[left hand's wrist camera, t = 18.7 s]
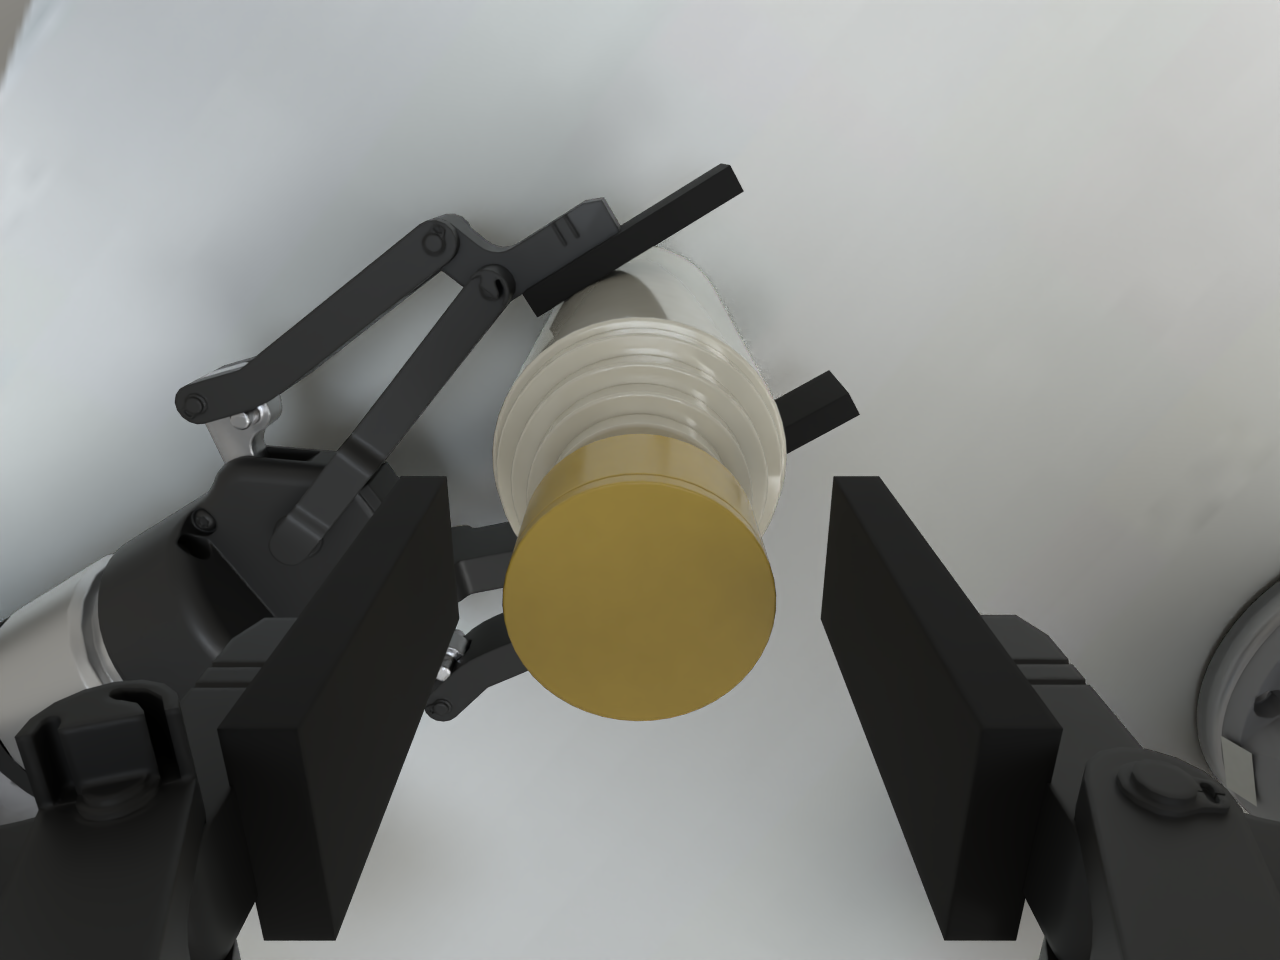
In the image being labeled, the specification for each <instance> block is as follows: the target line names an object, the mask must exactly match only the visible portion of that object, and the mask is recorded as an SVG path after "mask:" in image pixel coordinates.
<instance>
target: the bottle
mask: <svg viewBox="0 0 1280 960" xmlns="http://www.w3.org/2000/svg"><path fill="white" fill-rule="evenodd" d="M624 434H653V435H661V436H666V437H670V438H675V439H678V440H681V441H683V442H686V443H689V444H691V445H693V446H695V447H697V448H699V449H701V450H703V451H705V452H706V453H708V454H709V455H711V456H712V457H714V458H715V459H717V460H718V461H719V462H720V463H721V464H722V465H723V466H725V467H726V468H727V469H728V470H729V471H730V472H731V474H732V475H733V476H734V477H735V478H736V479H737V481H738V482H739V484H740V485H741V487H742V488H743V490H744V491H745V493H746V495H747V497H748V499H749V502H750V504H751V506H752V509H753V512H754V515H755V518H756V522H757V525H758V528H759V531H760V534H761V538H762V536H763V535H764V533H765V531H766V529H767V527H768V525H769V524H770V522H771V520H772V517H773V514H774V512H775V509H776V507H777V503H778V500H779V497H780V495H781V491H782V487H783V483H784V479H785V471H786V461H787V453H786V438H785V433H784V427H783V422H782V419H781V416H780V413H779V410H778V407H777V404H776V402H775V401H774V399H773V397H772V395H771V393H770V391H769V389H768V387H767V385H766V383H765V381H764V379H763V377H762V376H761V374H760V372H759V370H758V368H757V366H756V364H755V362H754V361H753V359H752V357H751V355H750V353H749V351H748V349H747V348H746V346H745V344H744V342H743V340H742V338H741V336H740V334H739V333H738V331H737V329H736V327H735V325H734V323H733V321H732V320H731V318H730V316H729V314H728V312H727V310H726V308H725V307H724V305H723V303H722V301H721V299H720V297H719V295H718V293H717V292H716V290H715V288H714V286H713V285H712V283H711V282H710V281H709V279H708V278H707V277H706V276H705V274H704V273H703V272H702V271H701V270H700V269H699V268H698V267H696V266H695V265H694V264H693V263H692V262H690V261H689V260H687V259H686V258H684V257H682V256H681V255H678V254H676V253H674V252H672V251H669V250H666V249H663V248H659V247H652V248H650V249H648V250H647V251H645V252H644V253H642V254H640V255H639V256H637V257H635V258H634V259H632V260H630V261H629V262H627V263H626V264H624V265H622V266H621V267H619V268H617V269H616V270H614V271H612V272H611V273H609V274H608V275H606V276H604V277H603V278H601V279H599V280H598V281H596V282H594V283H593V284H591V285H590V286H588V287H586V288H585V289H583V290H581V291H580V292H578V293H576V294H575V295H573V296H572V297H570V298H568V299H567V300H565V301H563V302H562V303H560V304H558V305H557V306H555V307H554V309H553V311H552V313H551V314H550V316H549V318H548V320H547V322H546V324H545V326H544V327H543V329H542V331H541V333H540V335H539V337H538V339H537V340H536V342H535V344H534V346H533V348H532V350H531V352H530V353H529V355H528V357H527V359H526V361H525V363H524V365H523V366H522V368H521V370H520V372H519V374H518V376H517V377H516V379H515V381H514V383H513V385H512V387H511V389H510V390H509V392H508V394H507V396H506V398H505V400H504V403H503V405H502V408H501V410H500V413H499V415H498V419H497V424H496V428H495V432H494V439H493V450H492V456H493V472H494V477H495V483H496V488H497V491H498V494H499V497H500V500H501V503H502V506H503V509H504V512H505V515H506V517H507V519H508V521H509V523H510V525H511V527H512V529H513V531H514V533H515V534H516V536H517V537H518V534H519V530H520V527H521V524H522V521H523V518H524V515H525V512H526V509H527V506H528V503H529V501H530V499H531V497H532V495H533V493H534V491H535V489H536V488H537V486H538V485H539V483H540V482H541V481H542V479H543V478H544V477H545V475H546V474H547V473H548V472H549V471H550V470H551V469H552V468H553V467H554V466H555V465H556V464H557V463H559V462H560V461H561V460H562V459H564V458H565V457H566V456H568V455H569V454H571V453H573V452H574V451H576V450H577V449H579V448H581V447H583V446H586V445H588V444H590V443H592V442H595V441H598V440H601V439H605V438H608V437H612V436H618V435H624Z"/></svg>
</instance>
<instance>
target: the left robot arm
mask: <svg viewBox="0 0 1280 960" xmlns="http://www.w3.org/2000/svg"><path fill="white" fill-rule="evenodd" d="M458 621H459V611H458V600H457V588H456V577H455V566H454V555H453V544H452V533H451V522H450V511H449V500H448V489H447V478H446V476H401V477H400V478H399V480H398V481H397V482H396V484H395V485H394V487H393V488H392V489H391V491H390V492H389V493H388V495H387V496H386V498H385V499H384V500H383V502H382V503H381V504H380V506H379V507H378V508H377V510H376V511H375V513H374V514H373V515H372V517H371V518H370V519H369V521H368V522H367V524H366V525H365V526H364V528H363V529H362V530H361V532H360V533H359V535H358V536H357V537H356V539H355V540H354V541H353V543H352V544H351V545H350V547H349V548H348V550H347V551H346V552H345V554H344V555H343V556H342V558H341V559H340V561H339V562H338V563H337V565H336V566H335V567H334V569H333V570H332V572H331V573H330V574H329V576H328V577H327V578H326V580H325V581H324V582H323V584H322V585H321V587H320V588H319V589H318V591H317V592H316V593H315V595H314V596H313V598H312V599H311V600H310V602H309V603H308V604H307V606H306V607H305V609H304V610H303V611H302V613H301V614H300V615H299V617H298V618H263V619H262V620H260V621H259V622H257V623H256V624H254V625H252V626H251V627H249V628H248V629H246V630H245V631H243V632H241V633H240V634H238V635H237V636H235V637H234V638H232V639H231V640H230V642H229V643H228V644H227V645H226V646H225V648H224V649H223V650H222V651H221V652H220V654H219V655H218V656H217V657H216V658H215V660H214V661H213V662H212V667H208V668H207V669H206V670H205V672H204V673H203V674H202V675H201V676H200V678H199V679H198V680H197V681H196V682H195V684H196V685H195V688H190V690H189V691H188V692H187V693H186V694H185V696H184V697H183V698H182V699H181V700H180V702H179V698H178V694H177V693H176V692H175V691H174V690H172V689H171V688H170V687H168V686H167V685H166V684H164V683H159V682H153V681H148V680H131V681H117V682H112V683H108V684H104V685H100V686H96V687H92V688H88V689H84V690H82V691H80V692H77V693H75V694H73V695H70V696H68V697H66V698H63V699H61V700H59V701H57V702H54V703H53V704H51V705H50V706H48V707H47V708H45V709H44V710H42V711H41V712H39V713H38V714H36V715H35V716H33V717H32V718H30V719H29V720H28V722H27V723H26V724H25V725H24V726H23V727H22V729H21V730H20V731H19V732H18V733H17V734H16V736H15V740H16V743H17V746H18V750H19V753H20V756H21V759H22V762H23V765H24V768H25V771H26V774H27V777H28V780H29V783H30V786H31V789H32V792H33V795H34V798H35V801H36V804H37V807H38V812H37V814H36V817H34V818H30V819H26V820H23V821H18V822H14V823H9V824H4V825H0V960H241V959H240V953H239V949H238V944H237V940H236V938H237V936H238V934H239V932H240V930H241V928H242V926H243V924H244V922H245V920H246V918H247V916H248V914H249V912H250V911H251V909H252V907H253V905H254V903H255V902H256V907H257V911H258V916H259V920H260V925H261V929H262V934H263V938H264V941H336V938H337V935H338V933H339V930H340V928H341V925H342V922H343V920H344V917H345V915H346V912H347V909H348V907H349V904H350V902H351V899H352V896H353V894H354V891H355V889H356V886H357V883H358V881H359V878H360V876H361V873H362V870H363V868H364V865H365V863H366V860H367V857H368V855H369V852H370V850H371V847H372V844H373V842H374V839H375V837H376V834H377V831H378V829H379V826H380V824H381V821H382V818H383V816H384V813H385V811H386V808H387V805H388V803H389V800H390V798H391V795H392V792H393V790H394V787H395V785H396V782H397V779H398V777H399V774H400V772H401V769H402V766H403V764H404V761H405V759H406V756H407V753H408V751H409V748H410V746H411V743H412V740H413V738H414V735H415V733H416V730H417V727H418V725H419V722H420V720H421V717H422V714H423V712H424V709H425V707H426V704H427V701H428V699H429V696H430V694H431V691H432V688H433V686H434V683H435V681H436V678H437V675H438V673H439V670H440V668H441V665H442V662H443V660H444V657H445V655H446V652H447V649H448V647H449V644H450V642H451V639H452V636H453V634H454V631H455V629H456V626H457V623H458ZM821 621H822V623H823V626H824V629H825V631H826V634H827V636H828V639H829V642H830V644H831V647H832V649H833V652H834V655H835V657H836V660H837V662H838V665H839V668H840V670H841V673H842V675H843V678H844V681H845V683H846V686H847V688H848V691H849V694H850V696H851V699H852V701H853V704H854V707H855V709H856V712H857V714H858V717H859V720H860V722H861V725H862V727H863V730H864V733H865V735H866V738H867V740H868V743H869V746H870V748H871V751H872V753H873V756H874V759H875V761H876V764H877V766H878V769H879V772H880V774H881V777H882V779H883V782H884V785H885V787H886V790H887V792H888V795H889V798H890V800H891V803H892V805H893V808H894V811H895V813H896V816H897V818H898V821H899V824H900V826H901V829H902V831H903V834H904V837H905V839H906V842H907V844H908V847H909V850H910V852H911V855H912V857H913V860H914V863H915V865H916V868H917V870H918V873H919V876H920V878H921V881H922V883H923V886H924V889H925V891H926V894H927V896H928V899H929V902H930V904H931V907H932V909H933V912H934V915H935V917H936V920H937V922H938V925H939V928H940V930H941V933H942V935H943V938H944V941H1016V938H1017V934H1018V929H1019V925H1020V920H1021V916H1022V911H1023V907H1024V902H1025V898H1026V900H1027V902H1028V904H1029V906H1030V908H1031V910H1032V912H1033V914H1034V916H1035V918H1036V920H1037V922H1038V924H1039V926H1040V928H1041V930H1042V932H1043V933H1044V935H1045V936H1044V940H1043V944H1042V949H1041V953H1040V957H1039V960H1280V580H1279V581H1278V582H1276V583H1275V584H1274V585H1273V586H1272V587H1270V588H1269V589H1268V590H1267V591H1266V592H1264V593H1263V594H1262V595H1261V596H1260V597H1259V598H1258V599H1257V600H1256V601H1255V602H1254V603H1253V604H1252V605H1251V606H1250V607H1249V608H1248V609H1247V610H1246V611H1245V612H1244V613H1243V614H1242V615H1241V617H1240V618H1239V619H1238V620H1237V621H1236V622H1235V623H1234V625H1233V626H1232V628H1231V629H1230V630H1229V632H1228V633H1227V634H1226V636H1225V637H1224V639H1223V640H1222V642H1221V643H1220V645H1219V647H1218V648H1217V650H1216V652H1215V654H1214V656H1213V658H1212V660H1211V662H1210V664H1209V666H1208V668H1207V671H1206V674H1205V676H1204V679H1203V682H1202V686H1201V689H1200V693H1199V699H1198V706H1197V731H1198V738H1199V742H1200V746H1201V750H1202V752H1203V755H1204V757H1205V760H1206V762H1207V764H1208V765H1209V767H1210V769H1211V771H1212V772H1213V774H1214V775H1215V776H1216V777H1217V779H1218V780H1219V781H1220V783H1221V784H1222V785H1223V786H1222V785H1221V784H1220V783H1219V782H1217V781H1216V780H1215V779H1213V778H1212V777H1211V776H1210V775H1208V774H1207V773H1206V772H1204V771H1202V770H1200V769H1198V768H1196V767H1194V766H1192V765H1190V764H1188V763H1186V762H1184V761H1182V760H1180V759H1178V758H1176V757H1173V756H1169V755H1166V754H1162V753H1159V752H1155V751H1152V750H1149V749H1143V748H1142V747H1141V745H1140V744H1139V743H1138V742H1137V741H1136V740H1135V738H1134V737H1133V736H1132V735H1131V734H1130V732H1129V731H1128V730H1127V729H1126V728H1125V726H1124V725H1123V724H1122V723H1121V722H1120V720H1119V719H1118V718H1117V717H1116V716H1115V714H1114V713H1113V712H1112V711H1111V710H1110V709H1109V707H1108V706H1107V705H1106V704H1105V703H1104V701H1103V700H1102V699H1101V698H1100V697H1099V695H1098V694H1097V693H1096V692H1095V691H1094V689H1093V688H1092V687H1091V686H1090V685H1086V684H1085V679H1084V678H1083V676H1082V675H1081V674H1080V673H1079V672H1078V670H1077V669H1076V668H1075V667H1074V666H1073V664H1069V662H1068V658H1067V657H1066V656H1065V655H1064V654H1063V652H1062V651H1061V650H1060V649H1059V648H1058V647H1057V645H1056V644H1055V643H1054V642H1053V641H1052V639H1051V638H1050V637H1049V636H1048V635H1047V634H1045V633H1043V632H1042V631H1040V630H1039V629H1037V628H1036V627H1034V626H1032V625H1031V624H1029V623H1028V622H1026V621H1024V620H1023V619H1021V618H1020V617H1018V616H1017V615H980V614H979V613H978V611H977V610H976V609H975V607H974V606H973V604H972V603H971V602H970V600H969V599H968V598H967V596H966V595H965V593H964V592H963V591H962V589H961V588H960V587H959V585H958V584H957V582H956V581H955V580H954V578H953V577H952V576H951V574H950V573H949V572H948V570H947V569H946V567H945V566H944V565H943V563H942V562H941V561H940V559H939V558H938V556H937V555H936V554H935V552H934V551H933V550H932V548H931V547H930V545H929V544H928V543H927V541H926V540H925V539H924V537H923V536H922V535H921V533H920V532H919V530H918V529H917V528H916V526H915V525H914V524H913V522H912V521H911V519H910V518H909V517H908V515H907V514H906V513H905V511H904V510H903V508H902V507H901V506H900V504H899V503H898V502H897V500H896V499H895V498H894V496H893V495H892V493H891V492H890V491H889V489H888V488H887V487H886V485H885V484H884V482H883V481H882V480H881V478H880V477H879V476H834V477H833V489H832V500H831V511H830V522H829V533H828V544H827V555H826V566H825V577H824V588H823V599H822V611H821ZM1233 797H1234V798H1235V799H1236V800H1237V801H1238V802H1239V803H1240V804H1241V805H1242V807H1243V808H1244V809H1245V810H1246V811H1247V812H1248V813H1249V814H1250V815H1249V814H1246V813H1243V811H1242V809H1241V807H1240V806H1239V804H1238V803H1237V802H1236V800H1235V799H1234V798H1233Z"/></svg>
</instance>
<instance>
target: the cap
mask: <svg viewBox="0 0 1280 960" xmlns="http://www.w3.org/2000/svg"><path fill="white" fill-rule="evenodd" d="M502 605H503V614H504V621H505V625H506V629H507V632H508V636H509V638H510V641H511V643H512V645H513V648H514V650H515V652H516V653H517V655H518V657H519V658H520V660H521V661H522V663H523V665H524V666H525V667H526V668H527V670H528V671H529V672H530V673H531V675H532V676H533V677H534V678H535V679H536V680H537V681H538V682H539V683H540V684H541V685H542V686H544V687H545V688H546V689H547V690H549V691H550V692H551V693H553V694H554V695H555V696H557V697H558V698H560V699H562V700H563V701H565V702H567V703H569V704H570V705H572V706H574V707H577V708H579V709H581V710H584V711H586V712H589V713H592V714H596V715H599V716H602V717H607V718H612V719H618V720H629V721H652V720H660V719H667V718H672V717H676V716H680V715H684V714H687V713H690V712H692V711H695V710H697V709H700V708H702V707H704V706H706V705H708V704H710V703H712V702H714V701H716V700H717V699H719V698H720V697H722V696H723V695H725V694H726V693H728V692H729V691H730V690H732V689H733V688H734V687H735V686H736V685H737V684H738V683H740V682H741V681H742V680H743V679H744V677H745V676H746V675H747V674H748V673H749V672H750V671H751V670H752V668H753V667H754V665H755V664H756V662H757V661H758V659H759V658H760V656H761V655H762V653H763V651H764V649H765V647H766V645H767V643H768V640H769V637H770V634H771V631H772V628H773V624H774V618H775V612H776V590H775V582H774V577H773V574H772V570H771V567H770V563H769V560H768V557H767V554H766V550H765V547H764V544H763V541H762V538H761V534H760V531H759V528H758V525H757V522H756V518H755V515H754V512H753V509H752V506H751V504H750V502H749V499H748V497H747V495H746V493H745V491H744V490H743V488H742V487H741V485H740V484H739V482H738V481H737V479H736V478H735V477H734V476H733V475H732V474H731V472H730V471H729V470H728V469H727V468H726V467H725V466H723V465H722V464H721V463H720V462H719V461H718V460H717V459H715V458H714V457H712V456H711V455H709V454H708V453H706V452H705V451H703V450H701V449H699V448H697V447H695V446H693V445H691V444H689V443H686V442H683V441H681V440H678V439H675V438H670V437H666V436H661V435H653V434H624V435H618V436H612V437H608V438H605V439H601V440H598V441H595V442H592V443H590V444H588V445H586V446H583V447H581V448H579V449H577V450H576V451H574V452H573V453H571V454H569V455H568V456H566V457H565V458H564V459H562V460H561V461H560V462H559V463H557V464H556V465H555V466H554V467H553V468H552V469H551V470H550V471H549V472H548V473H547V474H546V475H545V477H544V478H543V479H542V481H541V482H540V483H539V485H538V486H537V488H536V489H535V491H534V493H533V495H532V497H531V499H530V501H529V503H528V506H527V509H526V512H525V515H524V518H523V521H522V524H521V527H520V530H519V534H518V537H517V540H516V543H515V546H514V549H513V553H512V556H511V559H510V562H509V565H508V568H507V572H506V576H505V581H504V586H503V604H502Z"/></svg>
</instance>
